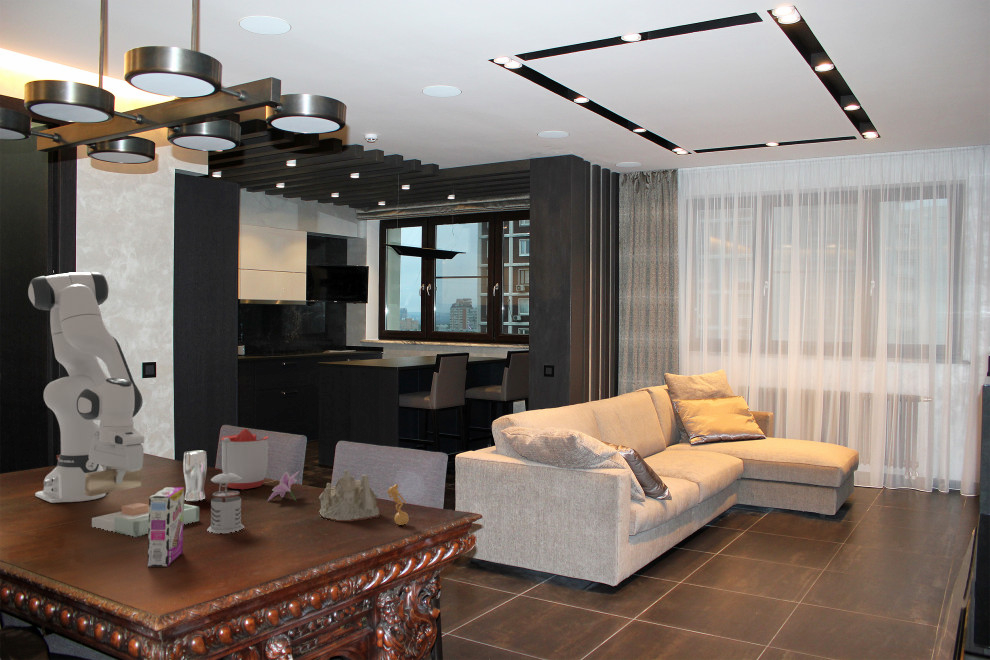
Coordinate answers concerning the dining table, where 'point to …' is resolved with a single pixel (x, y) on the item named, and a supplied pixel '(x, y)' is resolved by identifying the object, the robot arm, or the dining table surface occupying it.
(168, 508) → the candy bar box
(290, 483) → the lily
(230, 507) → the french press
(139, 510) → the terracotta tile
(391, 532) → the dining table surface
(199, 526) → the dining table surface
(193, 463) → the beer glass
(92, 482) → the bar
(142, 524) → the box
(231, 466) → the citrus juicer
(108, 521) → the plate
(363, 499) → the castle model
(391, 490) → the figurine
